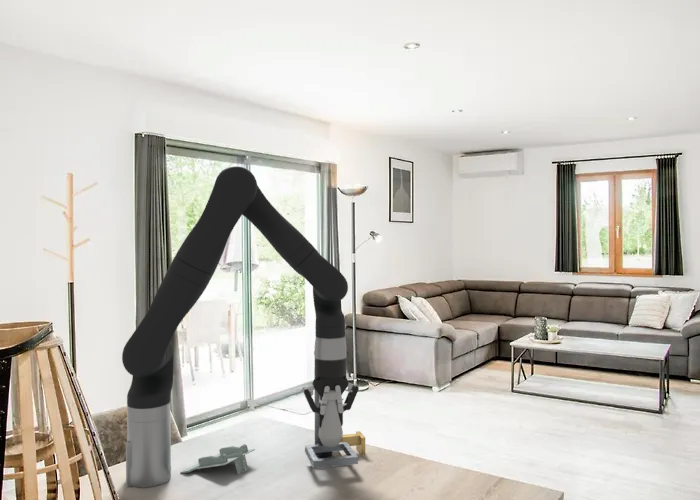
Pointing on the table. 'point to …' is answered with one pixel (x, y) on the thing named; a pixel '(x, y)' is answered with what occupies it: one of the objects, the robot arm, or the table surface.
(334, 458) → the square post stand
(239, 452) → the metal bracket
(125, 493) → the table surface
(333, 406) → the salt shaker
